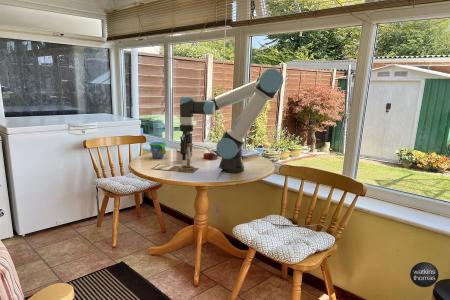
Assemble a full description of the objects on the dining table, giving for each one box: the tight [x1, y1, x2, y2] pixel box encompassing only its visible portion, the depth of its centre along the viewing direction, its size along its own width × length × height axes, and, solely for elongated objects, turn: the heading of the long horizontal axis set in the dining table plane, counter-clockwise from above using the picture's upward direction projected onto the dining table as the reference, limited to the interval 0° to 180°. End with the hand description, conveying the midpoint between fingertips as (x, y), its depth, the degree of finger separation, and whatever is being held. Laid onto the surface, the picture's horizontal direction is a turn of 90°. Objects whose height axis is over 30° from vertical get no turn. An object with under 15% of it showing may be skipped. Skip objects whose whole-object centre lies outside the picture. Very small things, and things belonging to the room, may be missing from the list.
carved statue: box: [179, 142, 194, 168], centre depth 175 cm, size 7×4×15 cm, turn 78°
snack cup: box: [149, 141, 167, 159], centre depth 210 cm, size 16×10×10 cm
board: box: [150, 163, 200, 174], centre depth 178 cm, size 26×12×3 cm, turn 78°
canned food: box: [203, 146, 218, 161], centre depth 213 cm, size 11×10×10 cm
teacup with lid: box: [175, 147, 193, 164], centre depth 197 cm, size 12×9×12 cm
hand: (186, 164), depth 176 cm, fingers open, 6 cm apart
